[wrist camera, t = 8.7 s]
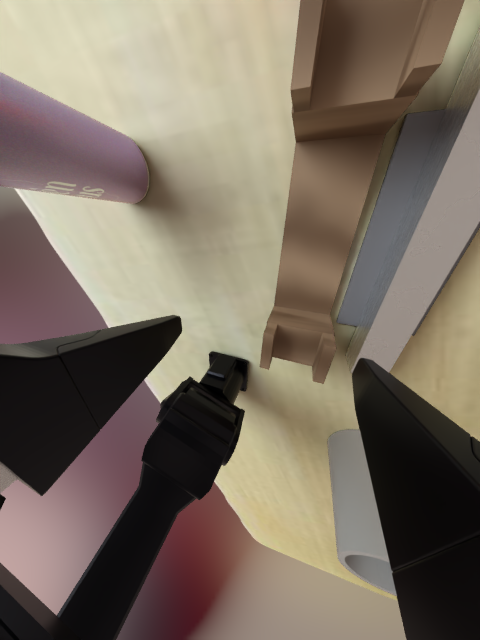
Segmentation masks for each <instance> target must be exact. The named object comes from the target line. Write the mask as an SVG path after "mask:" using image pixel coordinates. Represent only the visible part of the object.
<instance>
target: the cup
mask: <svg viewBox="0 0 480 640" xmlns="http://www.w3.org/2000/svg"><path fill="white" fill-rule="evenodd" d="M327 444H328V455H329V466H330V477H331V489H332V500H333V511H334V522H335V534H336V545H337V556H338V559H339V561H340V563H341V564H342V565H343V566H344V567H345V568H346V569H348V570H349V571H350V572H351V573H353V574H354V575H356V576H357V577H359V578H360V579H362V580H364V581H365V582H367V583H369V584H371V585H373V586H375V587H377V588H379V589H381V590H383V591H386V592H388V593H390V594H392V595H395V596H397V595H396V590H395V586H394V581H393V577H392V570H391V567H390V563H389V558H388V554H387V549H386V545H385V540H384V536H383V531H382V527H381V522H380V518H379V514H378V509H377V505H376V500H375V496H374V491H373V487H372V482H371V478H370V473H369V469H368V464H367V460H366V456H365V451H364V447H363V442H362V438H361V433H360V430H356V429H350V430H349V429H348V430H341V431H337V432H335V433H333V434H332V435H330V437H329V438H328V442H327Z"/></svg>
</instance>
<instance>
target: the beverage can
mask: <svg viewBox="0 0 480 640" xmlns="http://www.w3.org/2000/svg"><path fill="white" fill-rule="evenodd" d="M0 186H2V187H9V188H17V189H24V190H32V191H39V192H47V193H55V194H62V195H70V196H77V197H85V198H92V199H100V200H107V201H115V202H122V203H130V204H135V203H138V202H139V201H141V200H142V199H143V198H144V197H145V195H146V194H147V191H148V188H149V170H148V166H147V163H146V160H145V158H144V156H143V154H142V152H141V151H140V149H139V148H138V146H137V145H136V144H135V142H134V141H133V140H132V139H131V138H129V137H128V136H126V135H124V134H122V133H120V132H118V131H116V130H114V129H112V128H110V127H108V126H106V125H104V124H102V123H100V122H98V121H96V120H94V119H93V118H91V117H89V116H87V115H85V114H83V113H81V112H79V111H77V110H75V109H73V108H71V107H69V106H67V105H65V104H63V103H61V102H59V101H57V100H55V99H53V98H51V97H49V96H47V95H45V94H43V93H41V92H39V91H37V90H35V89H33V88H31V87H29V86H27V85H25V84H23V83H21V82H19V81H17V80H15V79H13V78H11V77H9V76H7V75H5V74H3V73H1V72H0Z"/></svg>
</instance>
